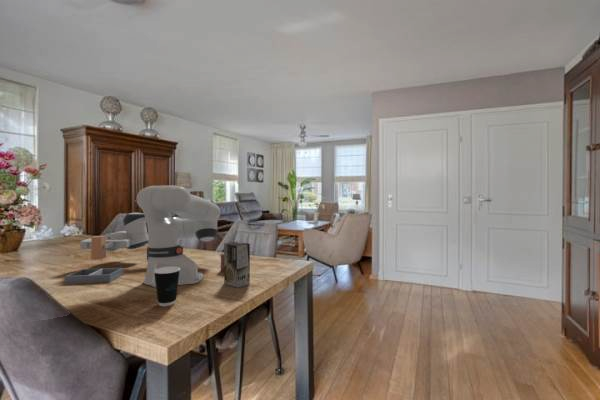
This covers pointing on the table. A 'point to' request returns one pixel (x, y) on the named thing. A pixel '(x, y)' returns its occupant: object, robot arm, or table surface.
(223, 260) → the lighter
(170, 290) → the dixie cup
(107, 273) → the organiser
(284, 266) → the table surface
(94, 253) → the block
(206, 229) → the robot arm
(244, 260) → the coffee box
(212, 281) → the table surface
